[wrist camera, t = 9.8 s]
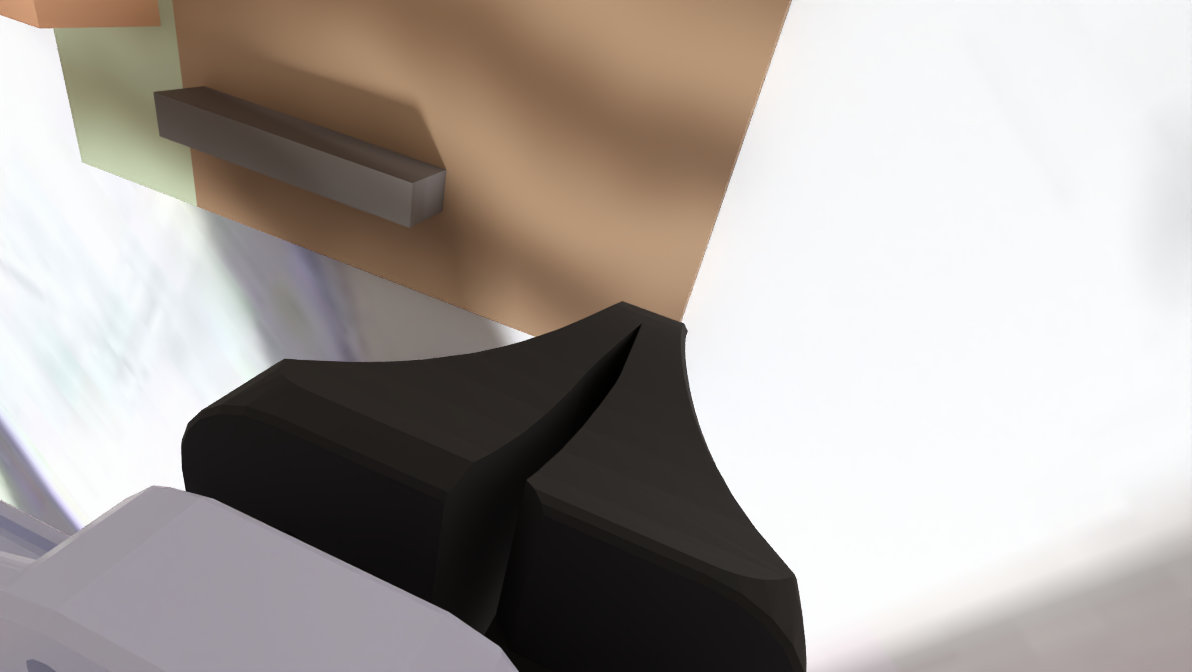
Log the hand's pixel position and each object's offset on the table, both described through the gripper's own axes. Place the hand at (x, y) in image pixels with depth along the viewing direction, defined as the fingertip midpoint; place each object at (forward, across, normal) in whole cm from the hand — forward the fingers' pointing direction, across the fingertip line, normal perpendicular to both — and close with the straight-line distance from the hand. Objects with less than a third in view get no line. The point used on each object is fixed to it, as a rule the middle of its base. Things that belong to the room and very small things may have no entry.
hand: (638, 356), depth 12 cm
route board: (+9, +13, -3) cm, 16 cm away
